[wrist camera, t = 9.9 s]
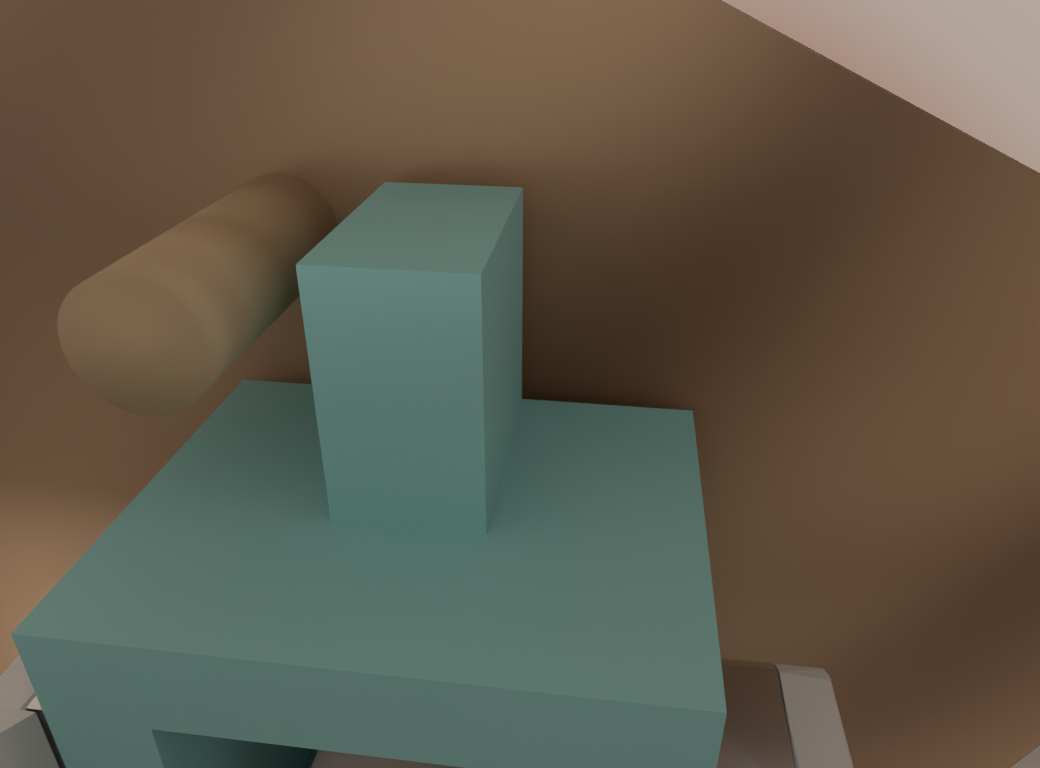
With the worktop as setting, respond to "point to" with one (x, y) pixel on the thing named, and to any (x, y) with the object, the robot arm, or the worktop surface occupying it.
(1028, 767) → the worktop surface
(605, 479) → the teal frame with handle
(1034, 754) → the worktop surface
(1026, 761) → the worktop surface
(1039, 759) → the worktop surface
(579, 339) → the board
